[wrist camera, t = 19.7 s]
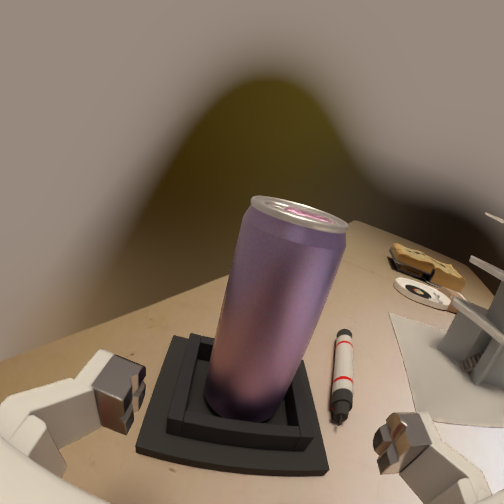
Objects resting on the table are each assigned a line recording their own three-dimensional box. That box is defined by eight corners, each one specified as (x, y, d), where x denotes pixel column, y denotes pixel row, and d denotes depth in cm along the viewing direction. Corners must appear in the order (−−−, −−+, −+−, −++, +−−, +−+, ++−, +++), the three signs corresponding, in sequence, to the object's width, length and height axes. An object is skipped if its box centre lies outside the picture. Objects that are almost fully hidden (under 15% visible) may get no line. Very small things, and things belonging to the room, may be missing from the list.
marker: (334, 339, 34) (340, 326, 33) (348, 344, 33) (354, 331, 33) (324, 430, 20) (334, 416, 19) (345, 435, 19) (356, 421, 19)
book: (446, 279, 82) (452, 263, 80) (460, 296, 67) (468, 278, 65) (386, 256, 89) (391, 239, 87) (391, 269, 74) (398, 250, 72)
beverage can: (271, 437, 17) (361, 236, 12) (191, 412, 18) (236, 200, 13) (281, 386, 23) (345, 217, 18) (215, 365, 23) (258, 191, 19)
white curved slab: (473, 307, 49) (403, 283, 54) (467, 319, 50) (397, 296, 55) (457, 290, 60) (394, 267, 65) (452, 300, 61) (390, 279, 66)
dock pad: (135, 452, 14) (133, 430, 13) (172, 342, 26) (175, 317, 25) (323, 475, 15) (342, 456, 14) (300, 366, 27) (310, 344, 26)
